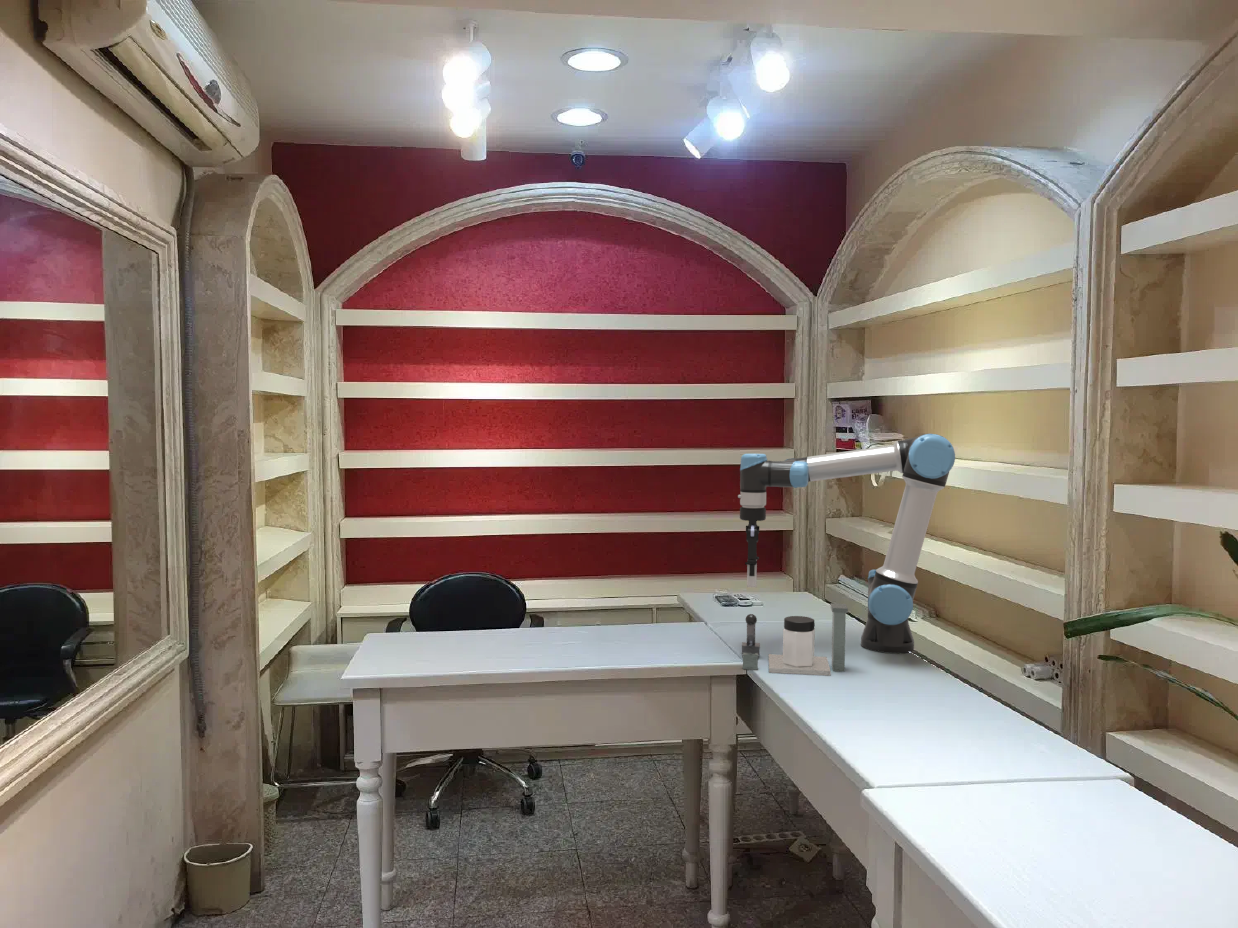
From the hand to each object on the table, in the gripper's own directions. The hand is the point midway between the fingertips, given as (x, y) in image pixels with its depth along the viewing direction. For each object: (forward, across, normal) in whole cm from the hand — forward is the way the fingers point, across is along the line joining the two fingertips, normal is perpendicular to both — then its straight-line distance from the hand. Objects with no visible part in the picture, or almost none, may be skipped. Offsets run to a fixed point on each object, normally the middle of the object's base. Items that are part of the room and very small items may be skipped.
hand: (751, 584), depth 257 cm
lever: (+18, +9, 0) cm, 20 cm away
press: (+19, +16, +12) cm, 27 cm away
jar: (+18, +17, +13) cm, 28 cm away
